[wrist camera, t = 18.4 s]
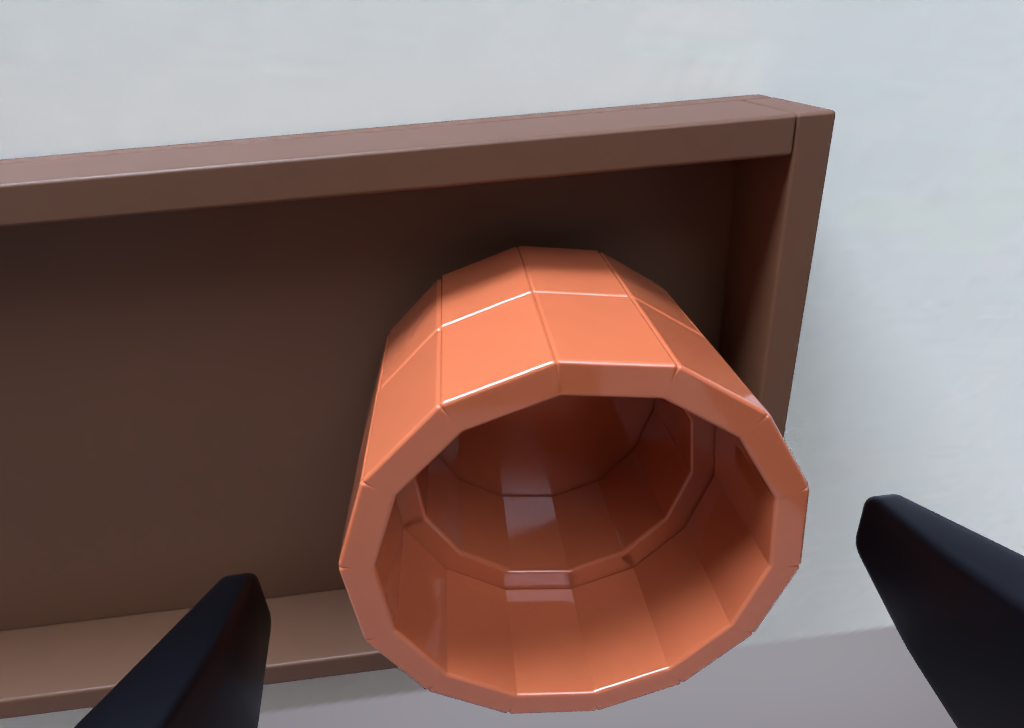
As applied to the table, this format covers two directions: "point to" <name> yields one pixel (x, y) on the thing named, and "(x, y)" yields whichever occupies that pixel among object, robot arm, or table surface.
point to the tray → (317, 342)
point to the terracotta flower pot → (563, 490)
